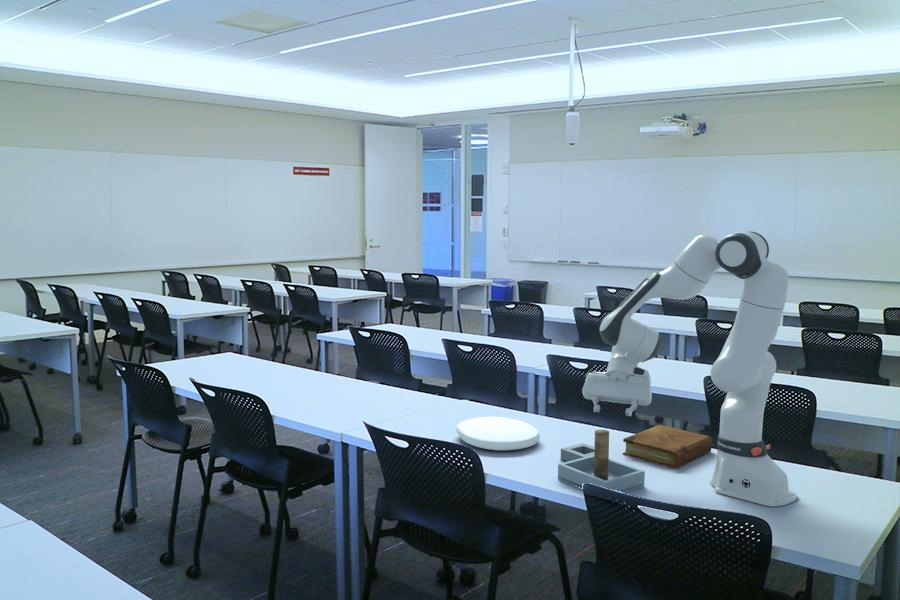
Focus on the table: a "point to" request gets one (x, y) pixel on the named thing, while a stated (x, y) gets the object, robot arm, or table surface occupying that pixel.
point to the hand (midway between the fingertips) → (611, 413)
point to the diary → (667, 446)
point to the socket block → (576, 452)
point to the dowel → (601, 454)
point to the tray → (583, 472)
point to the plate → (497, 433)
